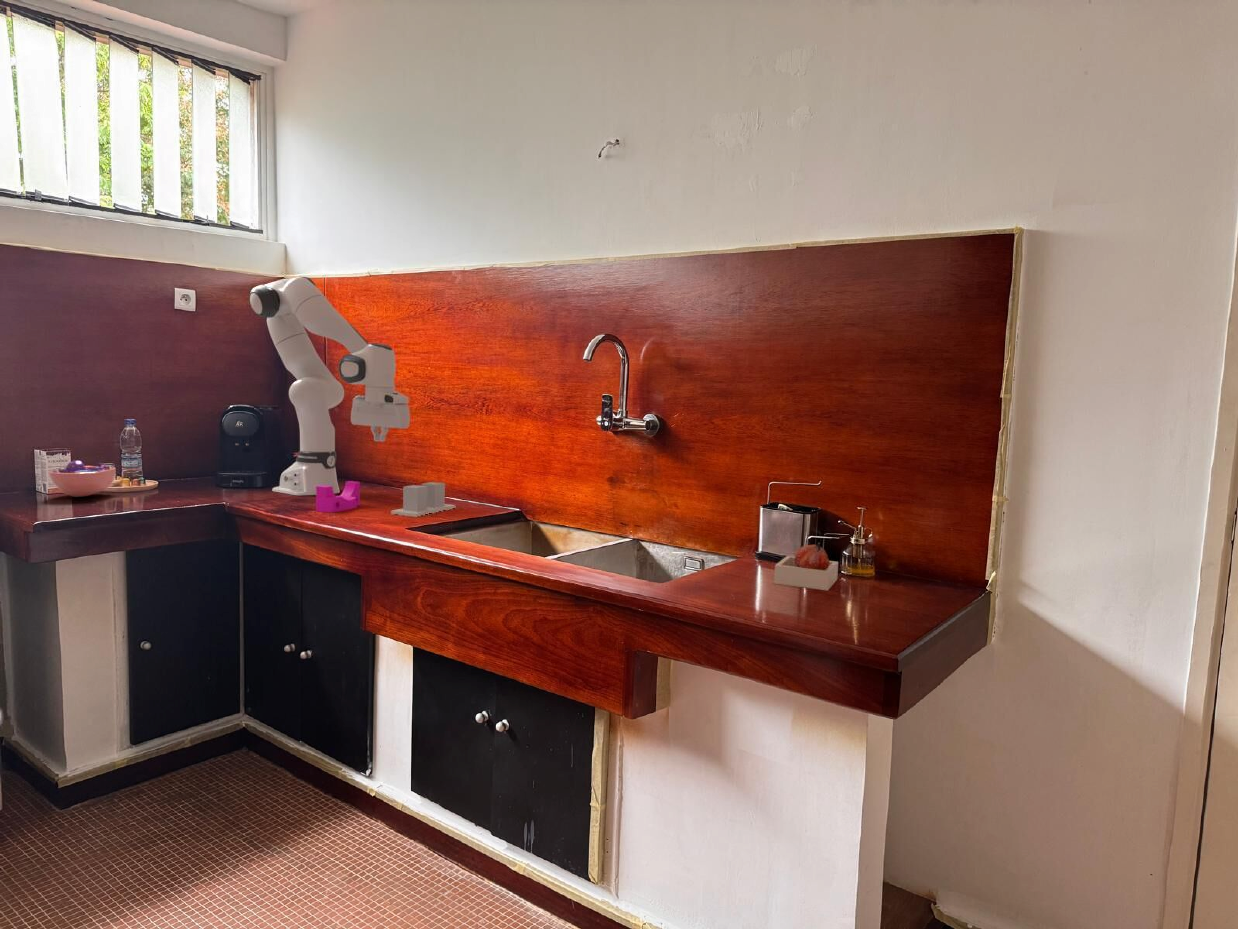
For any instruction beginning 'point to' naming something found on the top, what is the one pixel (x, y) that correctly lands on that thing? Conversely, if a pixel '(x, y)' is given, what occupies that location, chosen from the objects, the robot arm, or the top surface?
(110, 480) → the cell model
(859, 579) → the top surface
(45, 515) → the top surface
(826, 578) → the fruit dish
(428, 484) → the base
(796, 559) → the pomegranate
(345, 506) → the toy block
